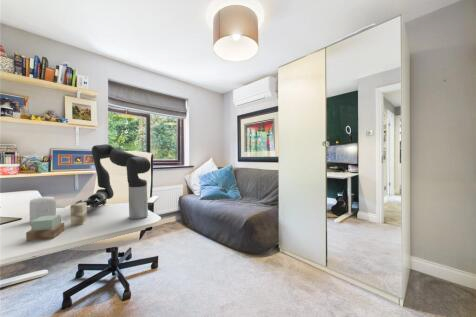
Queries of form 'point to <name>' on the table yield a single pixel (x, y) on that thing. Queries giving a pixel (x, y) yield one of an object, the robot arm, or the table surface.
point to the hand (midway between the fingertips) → (87, 205)
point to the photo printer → (42, 207)
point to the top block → (45, 222)
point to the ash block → (78, 213)
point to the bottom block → (45, 233)
